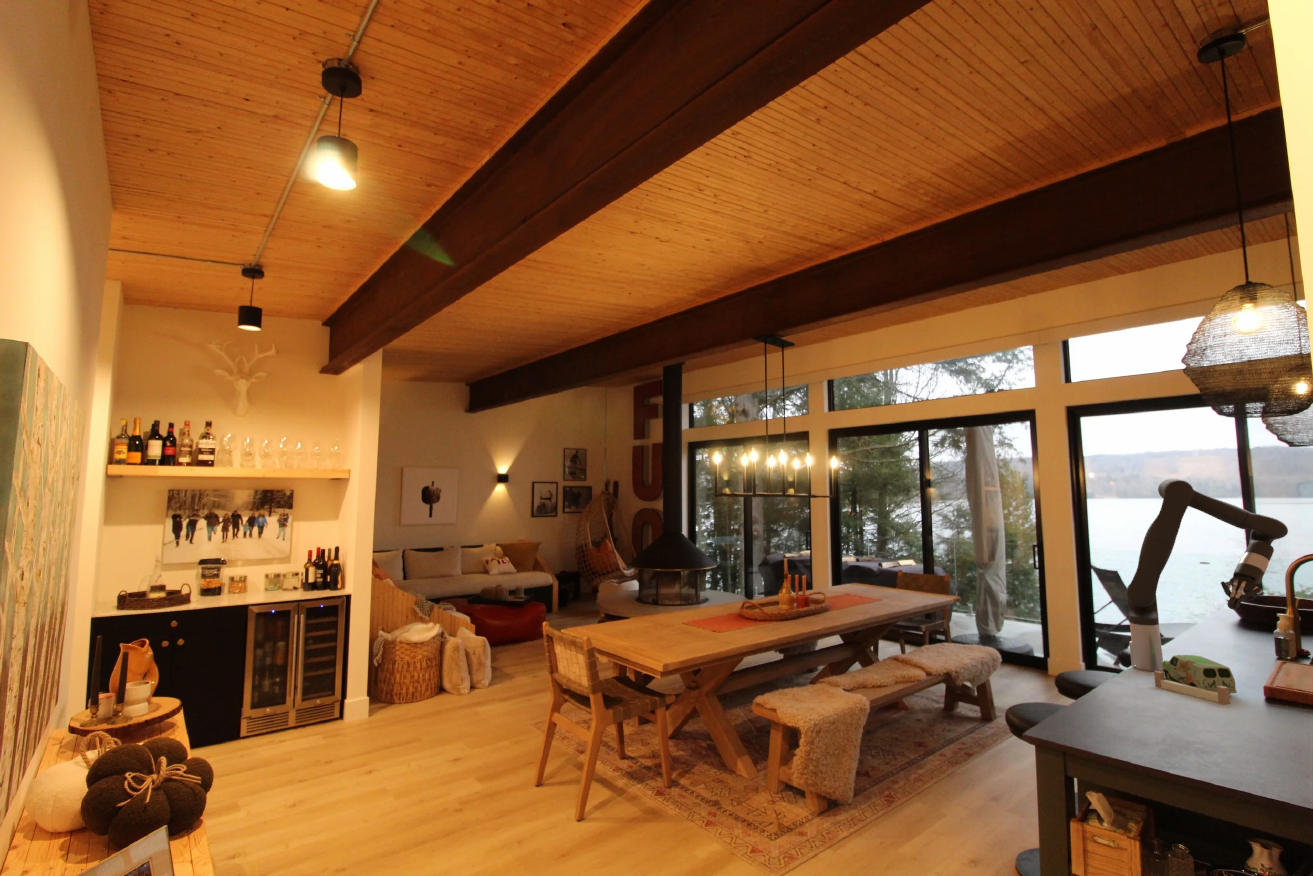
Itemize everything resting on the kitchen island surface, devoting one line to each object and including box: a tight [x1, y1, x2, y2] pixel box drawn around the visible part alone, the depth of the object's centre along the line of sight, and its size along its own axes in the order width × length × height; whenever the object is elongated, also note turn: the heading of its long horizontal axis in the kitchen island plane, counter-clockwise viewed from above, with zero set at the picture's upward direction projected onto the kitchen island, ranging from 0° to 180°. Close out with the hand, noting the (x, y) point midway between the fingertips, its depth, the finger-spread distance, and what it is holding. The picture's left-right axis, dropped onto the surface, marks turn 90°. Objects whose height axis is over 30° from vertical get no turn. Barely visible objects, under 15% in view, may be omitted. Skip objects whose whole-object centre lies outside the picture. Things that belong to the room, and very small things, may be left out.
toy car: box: [1161, 654, 1238, 695], centre depth 225 cm, size 11×25×10 cm, turn 168°
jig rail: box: [1153, 671, 1231, 705], centre depth 217 cm, size 22×2×5 cm, turn 16°
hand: (1231, 608), depth 231 cm, fingers closed
